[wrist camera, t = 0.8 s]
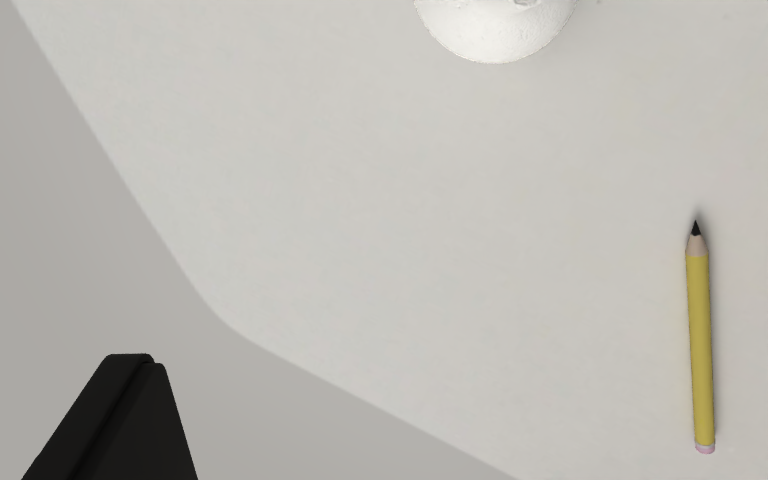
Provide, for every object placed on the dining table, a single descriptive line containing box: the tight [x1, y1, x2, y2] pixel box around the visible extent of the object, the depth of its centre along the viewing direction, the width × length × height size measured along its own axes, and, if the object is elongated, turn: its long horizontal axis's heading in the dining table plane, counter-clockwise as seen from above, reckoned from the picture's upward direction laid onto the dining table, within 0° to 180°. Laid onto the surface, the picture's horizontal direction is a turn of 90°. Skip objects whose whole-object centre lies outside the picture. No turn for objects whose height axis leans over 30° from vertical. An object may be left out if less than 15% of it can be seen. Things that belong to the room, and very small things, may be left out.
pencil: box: [685, 220, 715, 454], centre depth 34 cm, size 1×14×1 cm, turn 13°
